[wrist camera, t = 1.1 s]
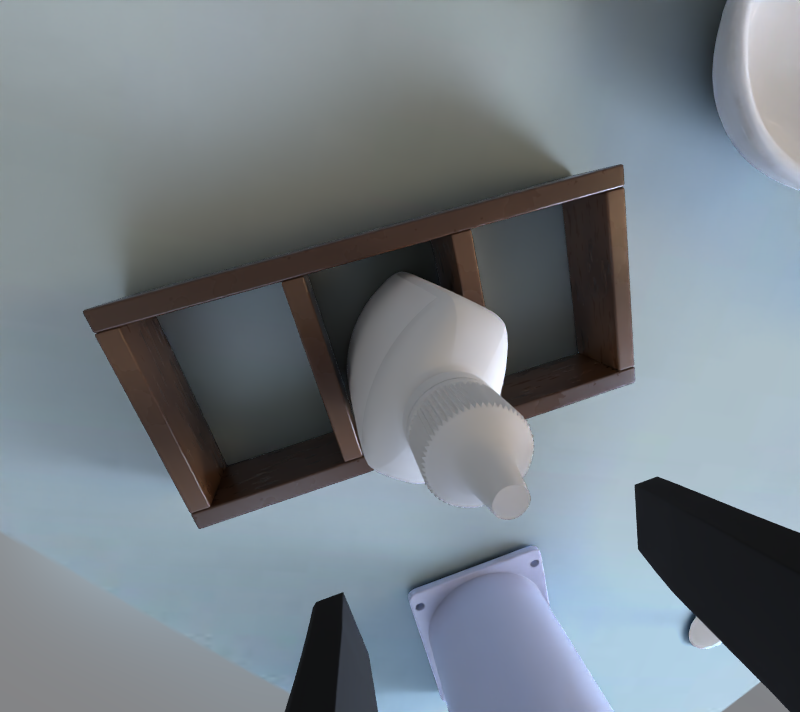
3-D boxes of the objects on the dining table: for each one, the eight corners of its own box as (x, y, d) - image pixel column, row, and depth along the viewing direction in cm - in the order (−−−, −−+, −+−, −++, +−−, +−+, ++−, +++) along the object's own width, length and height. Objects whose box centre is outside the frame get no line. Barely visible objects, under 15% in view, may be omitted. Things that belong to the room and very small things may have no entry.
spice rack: (592, 362, 20) (636, 382, 18) (216, 485, 18) (198, 530, 16) (575, 174, 17) (624, 163, 15) (124, 296, 15) (80, 311, 13)
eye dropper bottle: (310, 334, 17) (292, 522, 6) (413, 256, 17) (595, 299, 6) (370, 405, 19) (446, 662, 7) (465, 333, 19) (689, 486, 7)
